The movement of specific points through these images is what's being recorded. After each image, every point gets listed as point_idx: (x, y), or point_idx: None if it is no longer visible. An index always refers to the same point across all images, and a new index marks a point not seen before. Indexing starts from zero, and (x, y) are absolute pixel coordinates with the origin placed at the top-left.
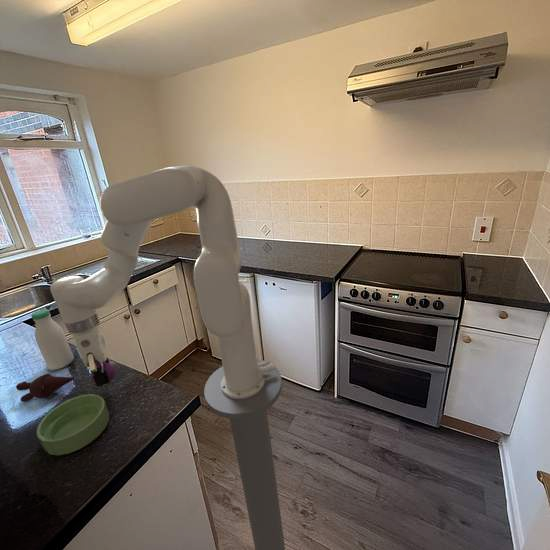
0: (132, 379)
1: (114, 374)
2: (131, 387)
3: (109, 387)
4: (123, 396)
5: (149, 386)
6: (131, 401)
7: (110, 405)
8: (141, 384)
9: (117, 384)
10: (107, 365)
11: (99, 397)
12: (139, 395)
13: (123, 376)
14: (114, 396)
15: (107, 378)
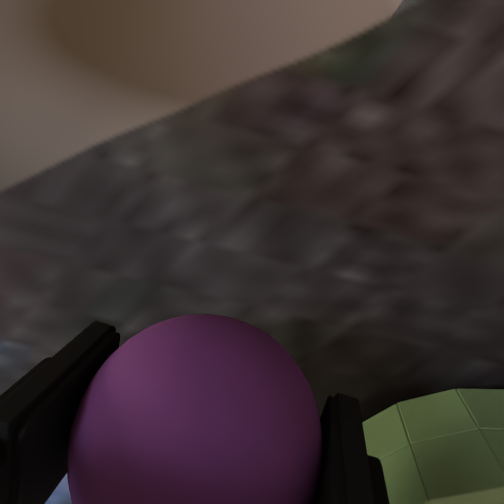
0: (221, 155)
1: (261, 331)
2: (319, 189)
3: (193, 309)
4: (377, 263)
5: (436, 59)
6: (491, 234)
7: (398, 351)
8: (347, 111)
9: (199, 260)
10: (210, 461)
11: (495, 501)
12: (477, 165)
13: (131, 202)
14: (323, 309)
15: (358, 440)
